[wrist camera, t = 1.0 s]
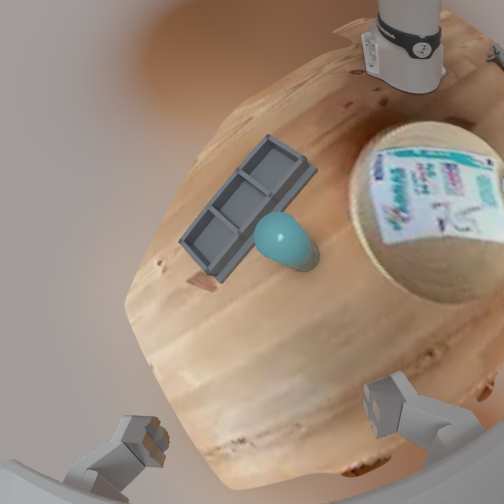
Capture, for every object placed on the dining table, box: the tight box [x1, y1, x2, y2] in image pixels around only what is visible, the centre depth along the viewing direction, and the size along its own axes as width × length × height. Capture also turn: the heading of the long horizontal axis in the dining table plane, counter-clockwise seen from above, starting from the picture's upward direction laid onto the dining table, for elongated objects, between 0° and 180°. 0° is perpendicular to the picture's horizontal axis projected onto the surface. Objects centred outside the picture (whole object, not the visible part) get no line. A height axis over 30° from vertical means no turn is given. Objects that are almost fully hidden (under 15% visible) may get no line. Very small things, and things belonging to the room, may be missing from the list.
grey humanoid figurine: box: [486, 44, 504, 67], centre depth 27 cm, size 10×6×9 cm
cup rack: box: [178, 134, 318, 283], centre depth 45 cm, size 25×11×4 cm, turn 137°
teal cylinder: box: [254, 212, 320, 272], centre depth 35 cm, size 5×5×15 cm
